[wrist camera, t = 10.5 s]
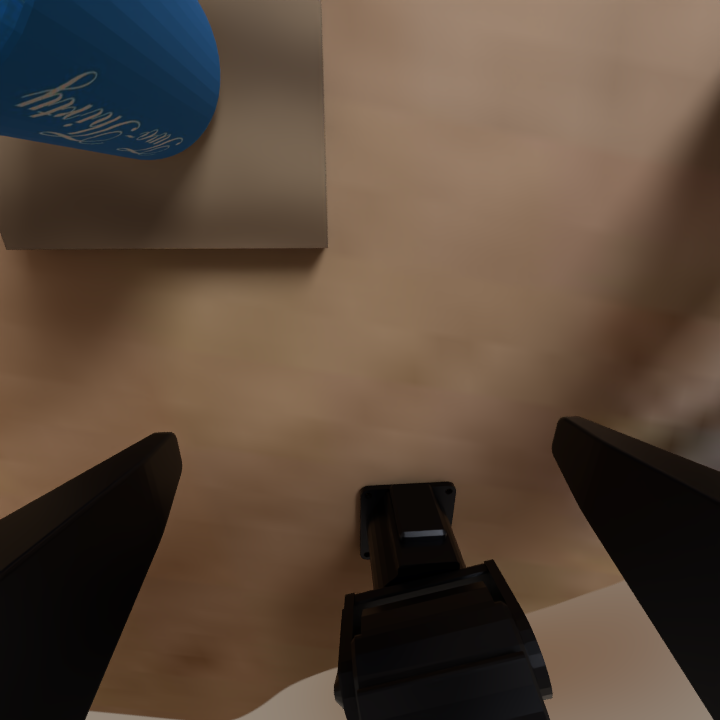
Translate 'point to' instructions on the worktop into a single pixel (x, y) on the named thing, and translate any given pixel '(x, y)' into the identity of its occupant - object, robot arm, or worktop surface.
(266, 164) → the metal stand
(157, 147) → the beverage can
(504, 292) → the worktop surface
